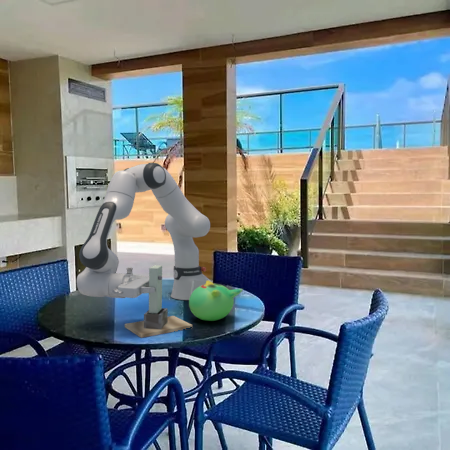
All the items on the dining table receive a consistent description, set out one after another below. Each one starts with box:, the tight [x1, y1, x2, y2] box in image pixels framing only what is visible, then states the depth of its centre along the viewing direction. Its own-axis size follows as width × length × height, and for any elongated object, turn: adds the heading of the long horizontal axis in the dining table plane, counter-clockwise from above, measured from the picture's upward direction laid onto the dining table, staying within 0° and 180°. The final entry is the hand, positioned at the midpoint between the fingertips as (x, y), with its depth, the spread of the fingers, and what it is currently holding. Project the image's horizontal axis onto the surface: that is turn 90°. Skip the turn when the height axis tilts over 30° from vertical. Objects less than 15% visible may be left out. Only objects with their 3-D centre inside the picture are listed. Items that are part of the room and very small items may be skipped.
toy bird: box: [188, 280, 244, 322], centre depth 181 cm, size 18×17×15 cm
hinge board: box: [124, 307, 193, 339], centre depth 170 cm, size 20×14×6 cm
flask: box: [126, 267, 134, 273], centre depth 233 cm, size 7×7×10 cm
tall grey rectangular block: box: [148, 264, 163, 313], centre depth 168 cm, size 6×4×16 cm
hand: (158, 287), depth 168 cm, fingers closed on tall grey rectangular block, 6 cm apart
